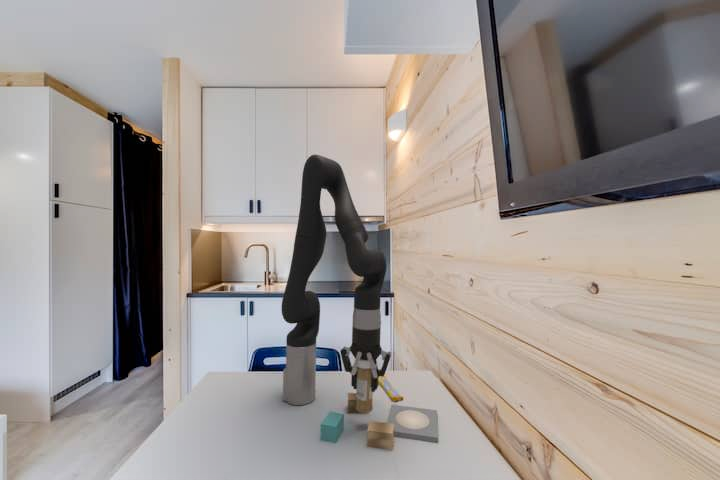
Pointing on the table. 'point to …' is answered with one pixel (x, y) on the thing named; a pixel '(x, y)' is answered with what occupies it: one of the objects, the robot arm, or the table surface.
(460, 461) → the table surface
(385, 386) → the candy bar
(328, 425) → the teal block
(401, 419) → the slate board
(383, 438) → the oak block
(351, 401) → the walnut block
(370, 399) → the sprinkles bottle
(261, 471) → the table surface
